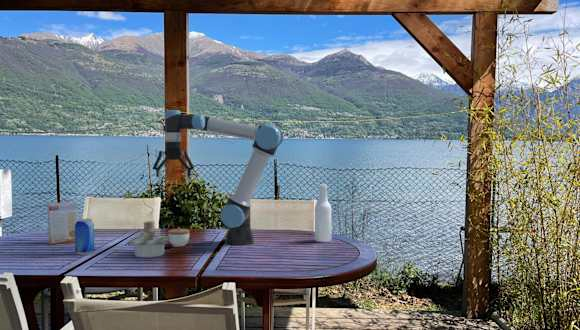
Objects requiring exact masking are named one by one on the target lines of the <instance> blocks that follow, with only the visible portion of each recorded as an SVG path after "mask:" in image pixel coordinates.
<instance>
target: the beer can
mask: <svg viewBox="0 0 580 330" xmlns="http://www.w3.org/2000/svg"><path fill="white" fill-rule="evenodd" d="M74 243H75V244H74V247H75V248H74V249H75V250H74V252H75V253H76V255H78V256H87V255H88V254H89V255H92V254H93V253H94V252H95V224H94V223H93V220H92V218H91V219H90V218H82V219H78V220H77V222H76V224H75V242H74Z"/></svg>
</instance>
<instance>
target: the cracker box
mask: <svg viewBox="0 0 580 330" xmlns="http://www.w3.org/2000/svg"><path fill="white" fill-rule="evenodd" d="M46 205H47V206H46V207H47V227H48V228H47V230H48V244H49V245H60V244H61V245H62V244H69V243H75V224H76V222H77V220H79V213H78V211H79V210H78V208H79V207H78V202H77V201H68V202H67V201H66V202H52V203H47V204H46Z"/></svg>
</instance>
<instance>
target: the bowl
mask: <svg viewBox="0 0 580 330" xmlns="http://www.w3.org/2000/svg"><path fill="white" fill-rule="evenodd" d="M164 254H165V243H164V244H163V245H134V256H135V257H137V258H154V257H155V258H156V257H160V256H161V257H162V256H163V255H164Z"/></svg>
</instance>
